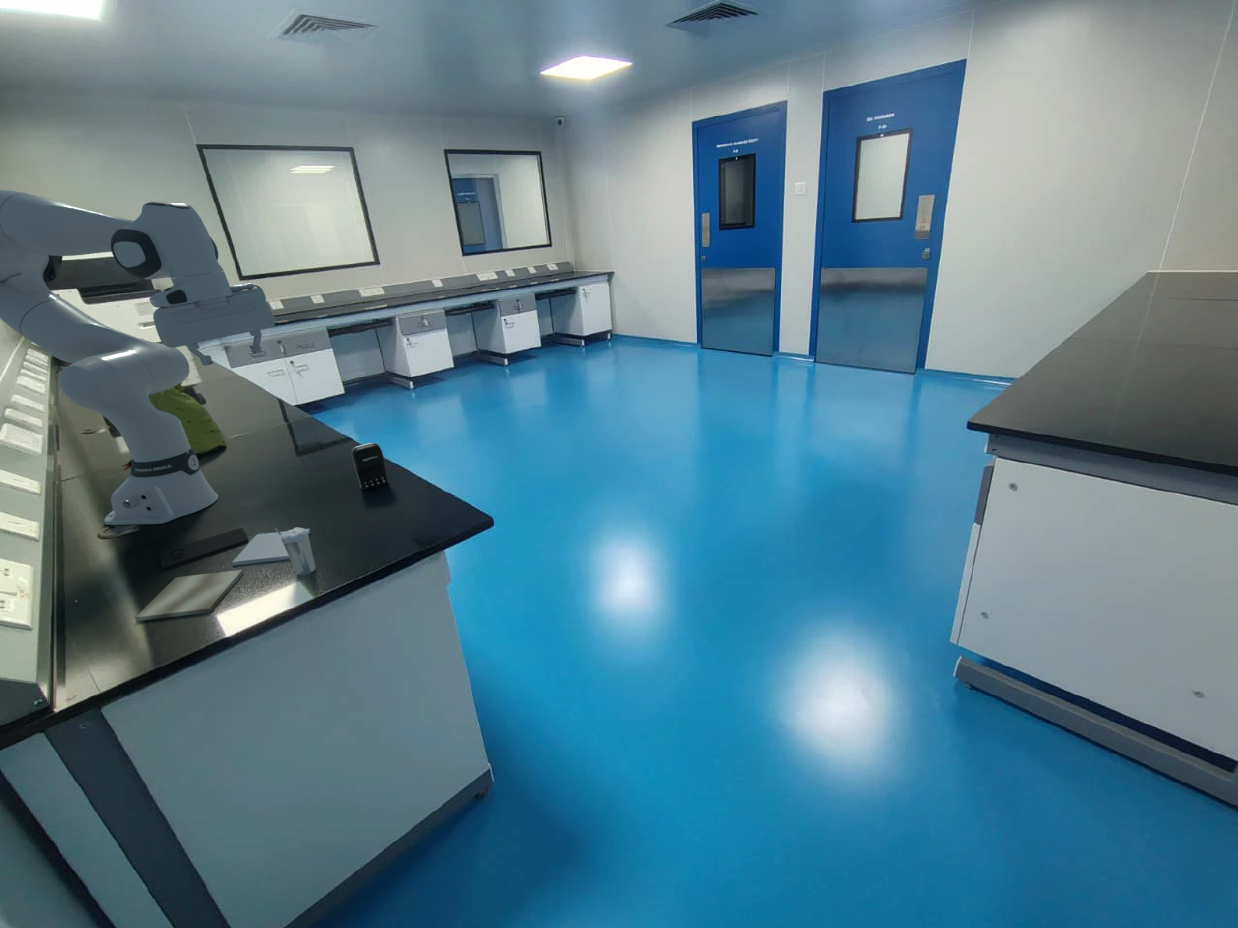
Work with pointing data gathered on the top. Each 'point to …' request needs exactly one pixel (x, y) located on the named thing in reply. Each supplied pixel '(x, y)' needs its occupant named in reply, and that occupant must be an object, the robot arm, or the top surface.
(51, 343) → the robot arm
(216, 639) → the top surface
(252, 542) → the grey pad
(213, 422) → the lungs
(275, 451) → the top surface
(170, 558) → the phone
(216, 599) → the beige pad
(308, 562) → the milkshake
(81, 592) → the top surface
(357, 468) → the battery charger
